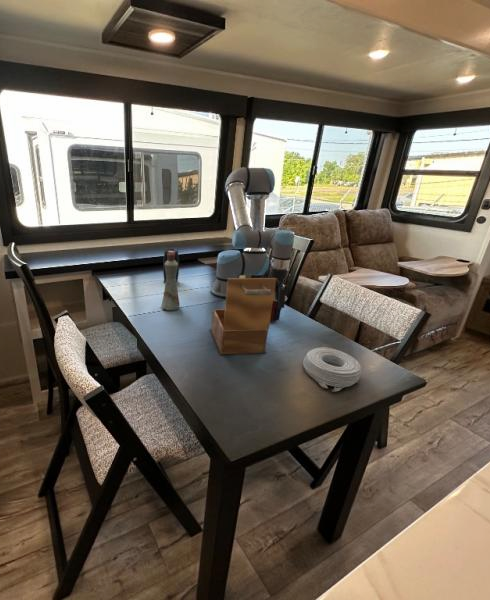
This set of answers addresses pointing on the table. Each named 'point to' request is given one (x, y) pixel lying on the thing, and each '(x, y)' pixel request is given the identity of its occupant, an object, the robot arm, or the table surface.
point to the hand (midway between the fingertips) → (271, 315)
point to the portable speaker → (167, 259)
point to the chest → (236, 337)
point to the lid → (248, 303)
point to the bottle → (170, 284)
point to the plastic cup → (273, 307)
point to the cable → (332, 368)
